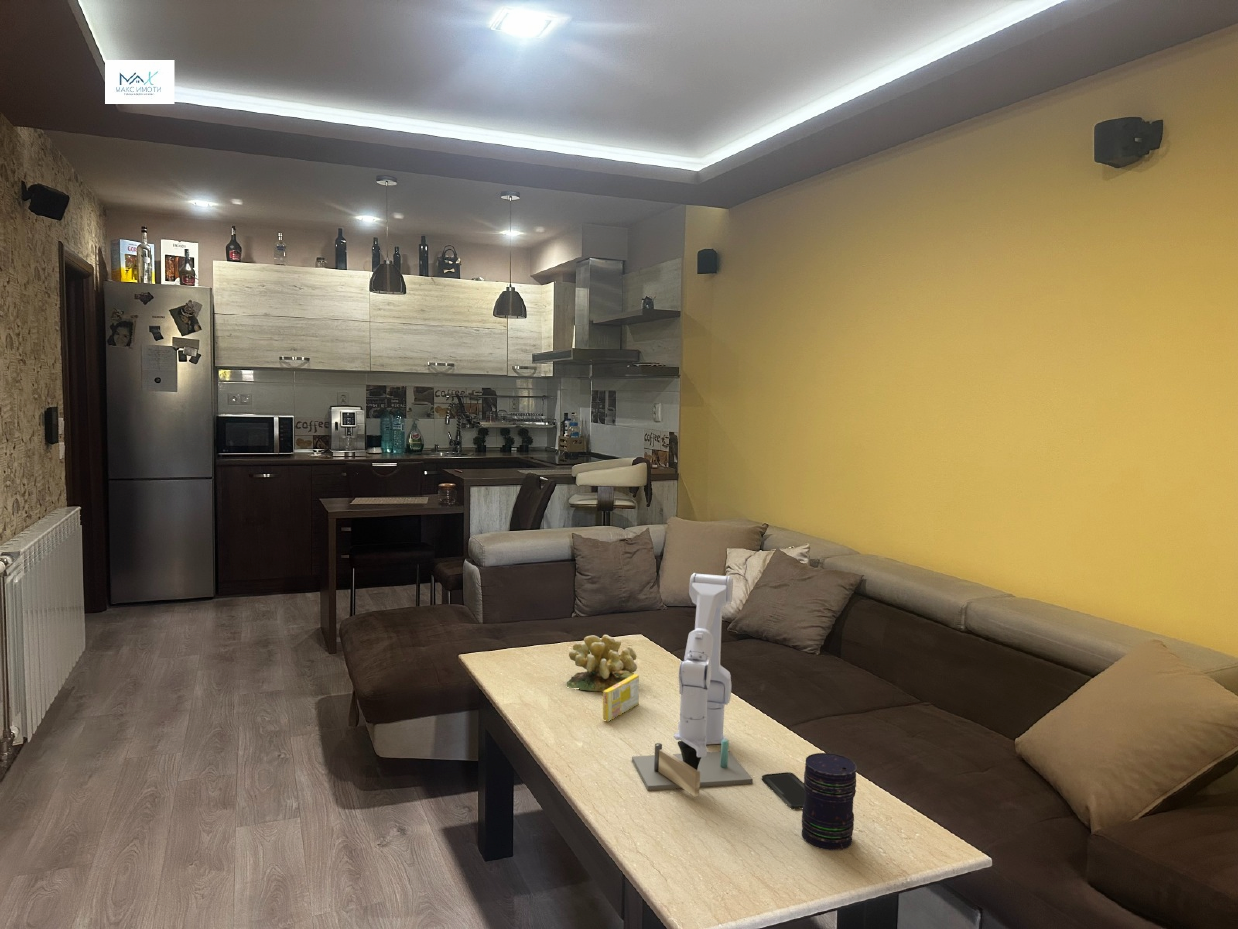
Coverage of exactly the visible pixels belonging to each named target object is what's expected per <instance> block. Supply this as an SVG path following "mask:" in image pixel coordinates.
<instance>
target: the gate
mask: <svg viewBox="0 0 1238 929" xmlns="http://www.w3.org/2000/svg"><path fill="white" fill-rule="evenodd" d="M673 754H674V753H671V752H669V751H668V750H666V749H665V748H662V749H661V750H659V770H658V772H660V773H661V774H663V775H664V776H666V777H667V778H669V779H670V780H671V781H673V782H674V783H676V784H677V785H679V786H680V787H681V788H680V789H683V790H685V792H687V793H689V794H690V795H692V797H697V796H700V788H701V787H700V772H699V771H697V770H696V769H694V768H693V767H691V766H690V765H688V764H686V763H685V762H683V761H682V760H680V759H679V758H677V757H676V756H674V755H673Z"/></svg>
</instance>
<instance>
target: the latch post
mask: <svg viewBox="0 0 1238 929" xmlns="http://www.w3.org/2000/svg"><path fill="white" fill-rule="evenodd" d="M720 745H721V747H720V751H721V763H720V767H722V768H727V765H728V751H729V740H728V739H727V740H722V742H721V744H720Z"/></svg>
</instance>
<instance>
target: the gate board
mask: <svg viewBox="0 0 1238 929" xmlns="http://www.w3.org/2000/svg"><path fill="white" fill-rule="evenodd" d="M672 754H673V755H674V756H676V757H677V758H679V759H680V760H682V761H683V758H682V754H681V753H672ZM654 757H655V754H652V755H639V756H638V755H633V756H631V762H632V763H634V764H633V765H634V767H635V769H636V772H637V773H638V774H639V777H640V779H641V780H643V781H642V783H643V784H644V787H645V788H646V790H647V791H658V790H662V791H663V790H672V789H673V790H675V789H676V788H677V789H682V788H681V787H680V786H679V785H677V784H676V783H674V782H673V781H671V780H670V779H669V778H667V777H666V776H664V775H663V774H661V773H660V772H655V771H654ZM720 763H721V750H720V751H707V757H701V760H700V762H699V765H698V769H697V771H699V772H700V787H699V788H703V787H704V788H705V787H718V786H732V785H733V786H734V785H745V784H746V785H747V784H748V785H750V784H753V782H754V780H753V777H752V776H751V775H750V773H749V772H748V771H747V770H746V769H745V768H744V766H743V765H742V764H741V763H740V761H739V759H737V757H736V756H735V755H734V754H733V753H732V751H731V750H728V765H727V768H722V767H720ZM677 789H676V790H677Z"/></svg>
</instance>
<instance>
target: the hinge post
mask: <svg viewBox="0 0 1238 929" xmlns="http://www.w3.org/2000/svg"><path fill="white" fill-rule="evenodd" d="M661 749H663V744H662V743H659V742H657V743H655V744H654V755H655V757H654V771H655V772H658V770H659V750H661Z"/></svg>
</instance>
